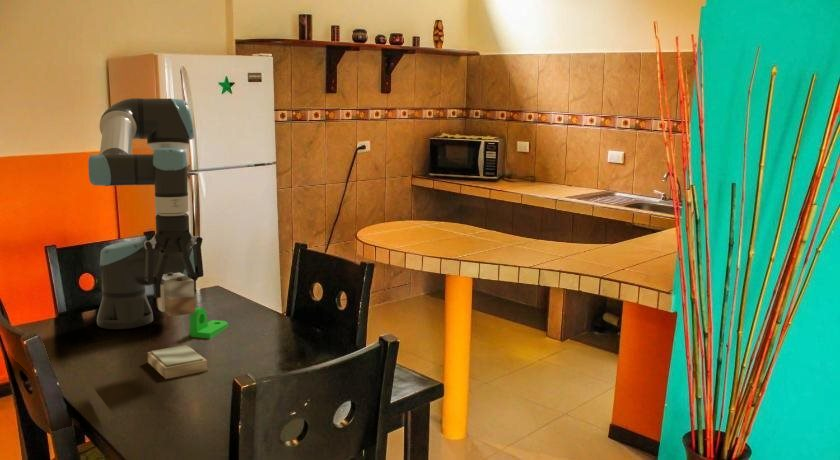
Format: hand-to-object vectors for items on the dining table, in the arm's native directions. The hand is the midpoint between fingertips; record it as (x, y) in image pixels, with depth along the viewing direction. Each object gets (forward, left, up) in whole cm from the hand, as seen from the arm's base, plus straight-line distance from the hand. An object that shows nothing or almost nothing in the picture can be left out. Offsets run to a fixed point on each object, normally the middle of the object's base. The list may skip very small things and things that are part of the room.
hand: (175, 308), depth 179 cm
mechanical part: (-23, +17, -15) cm, 32 cm away
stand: (0, 0, -15) cm, 15 cm away
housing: (0, 0, 0) cm, 0 cm away
